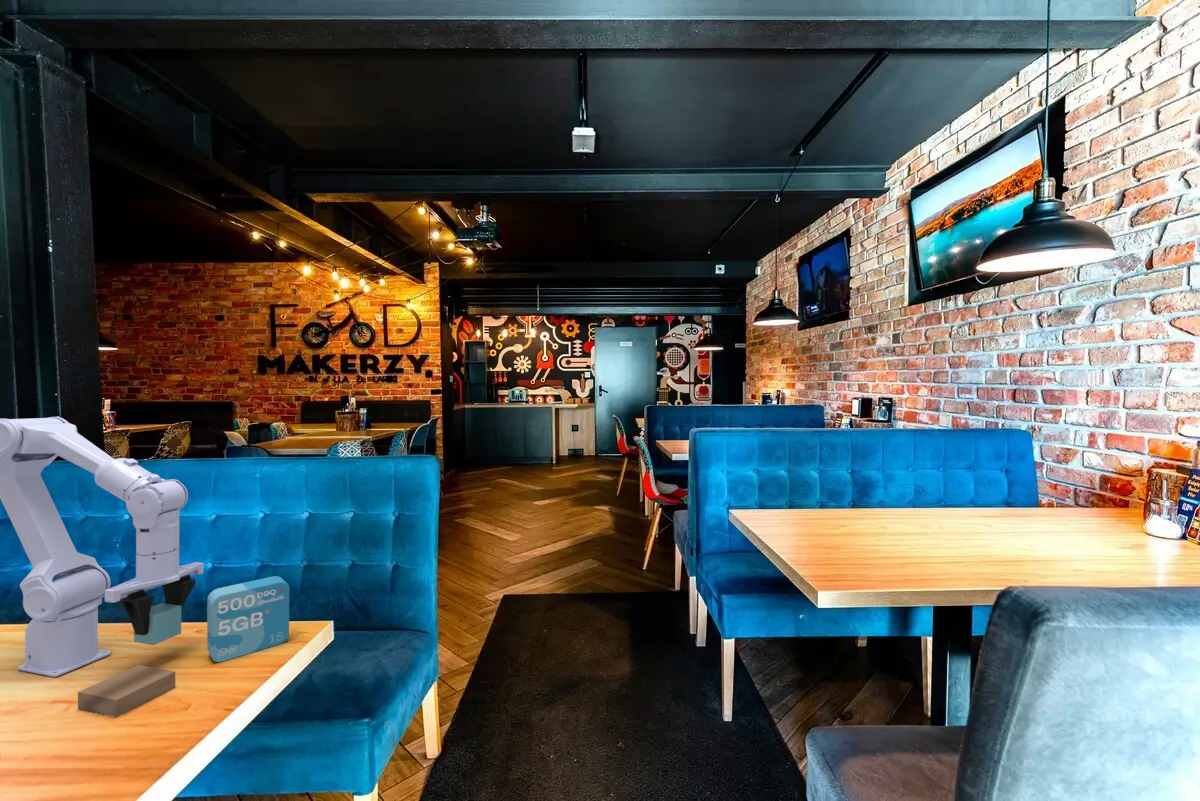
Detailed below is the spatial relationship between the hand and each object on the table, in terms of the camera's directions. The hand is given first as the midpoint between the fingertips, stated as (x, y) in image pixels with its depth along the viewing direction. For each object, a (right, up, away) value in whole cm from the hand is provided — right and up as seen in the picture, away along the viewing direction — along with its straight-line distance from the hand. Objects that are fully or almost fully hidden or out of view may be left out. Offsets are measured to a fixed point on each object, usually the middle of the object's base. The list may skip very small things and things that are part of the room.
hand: (157, 627), depth 88 cm
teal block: (0, -2, 0) cm, 2 cm away
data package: (+13, -7, +5) cm, 15 cm away
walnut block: (+5, -7, -10) cm, 13 cm away
